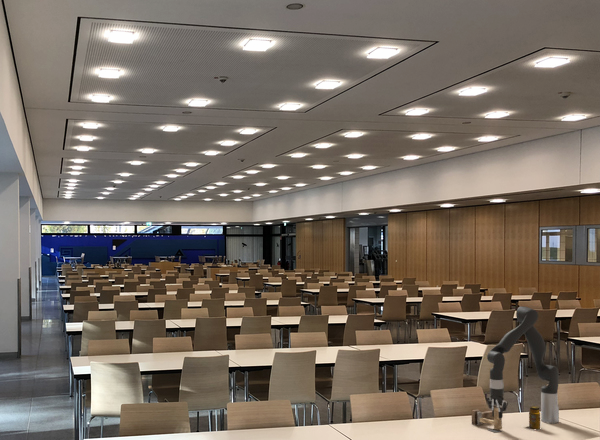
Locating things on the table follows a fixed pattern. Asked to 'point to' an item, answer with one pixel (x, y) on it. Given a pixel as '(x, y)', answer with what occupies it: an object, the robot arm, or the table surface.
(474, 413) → the walnut rail
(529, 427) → the condiment
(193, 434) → the table surface
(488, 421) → the wooden frame
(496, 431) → the foot pad
